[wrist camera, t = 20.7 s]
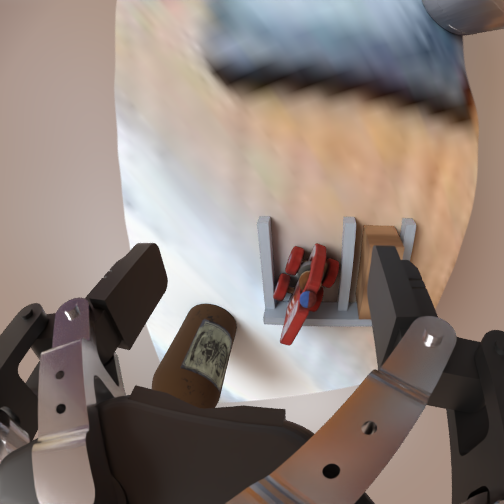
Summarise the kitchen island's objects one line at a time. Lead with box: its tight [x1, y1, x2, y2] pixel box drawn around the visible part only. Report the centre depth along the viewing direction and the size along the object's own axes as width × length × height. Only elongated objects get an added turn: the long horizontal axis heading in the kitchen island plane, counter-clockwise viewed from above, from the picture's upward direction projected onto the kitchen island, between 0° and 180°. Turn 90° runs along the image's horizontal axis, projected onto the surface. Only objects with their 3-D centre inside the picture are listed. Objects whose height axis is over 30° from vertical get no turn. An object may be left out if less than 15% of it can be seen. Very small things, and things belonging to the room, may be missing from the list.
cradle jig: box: [257, 217, 416, 326], centre depth 41 cm, size 16×22×4 cm
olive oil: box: [152, 304, 237, 409], centre depth 43 cm, size 11×11×25 cm
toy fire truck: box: [273, 243, 339, 345], centre depth 40 cm, size 7×12×10 cm, turn 163°
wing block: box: [356, 225, 405, 319], centre depth 39 cm, size 12×4×6 cm, turn 5°
